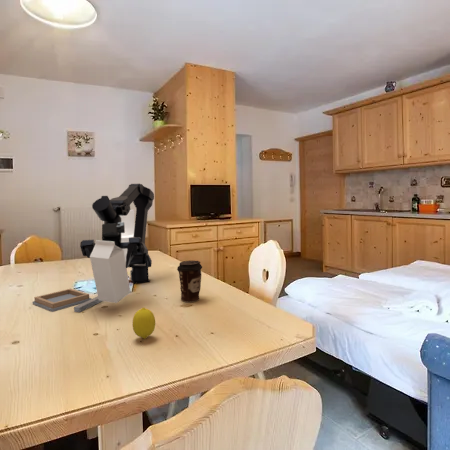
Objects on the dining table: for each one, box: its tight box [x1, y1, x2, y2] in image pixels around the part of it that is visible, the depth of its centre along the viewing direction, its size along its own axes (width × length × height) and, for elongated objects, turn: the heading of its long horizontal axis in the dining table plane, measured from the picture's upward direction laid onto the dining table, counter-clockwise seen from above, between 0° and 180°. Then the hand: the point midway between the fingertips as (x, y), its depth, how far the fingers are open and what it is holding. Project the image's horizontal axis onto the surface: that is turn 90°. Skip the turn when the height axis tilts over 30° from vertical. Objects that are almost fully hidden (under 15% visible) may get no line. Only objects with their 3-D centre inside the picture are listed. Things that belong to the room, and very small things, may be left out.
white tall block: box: [102, 209, 135, 262], centre depth 184 cm, size 17×17×28 cm
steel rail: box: [73, 295, 103, 313], centre depth 112 cm, size 14×2×2 cm, turn 164°
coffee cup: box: [176, 260, 203, 303], centre depth 115 cm, size 9×8×13 cm
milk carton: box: [89, 239, 131, 304], centre depth 106 cm, size 7×7×19 cm
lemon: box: [132, 307, 156, 340], centre depth 84 cm, size 6×6×8 cm
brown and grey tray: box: [31, 288, 93, 313], centre depth 115 cm, size 14×14×2 cm
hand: (111, 268), depth 106 cm, fingers closed on milk carton, 9 cm apart
